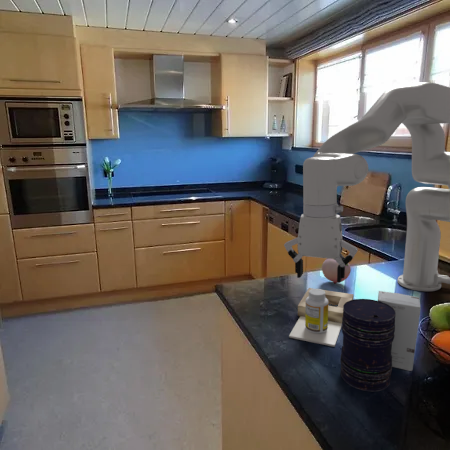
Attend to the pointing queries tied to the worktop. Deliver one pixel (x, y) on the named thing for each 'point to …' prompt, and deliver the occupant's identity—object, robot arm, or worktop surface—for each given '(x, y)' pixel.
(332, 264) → the decorative fruit
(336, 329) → the pad
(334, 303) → the socket block
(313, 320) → the supplement bottle
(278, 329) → the worktop surface
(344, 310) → the dark blue cylinder
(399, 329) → the skincare box
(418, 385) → the worktop surface
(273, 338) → the worktop surface
